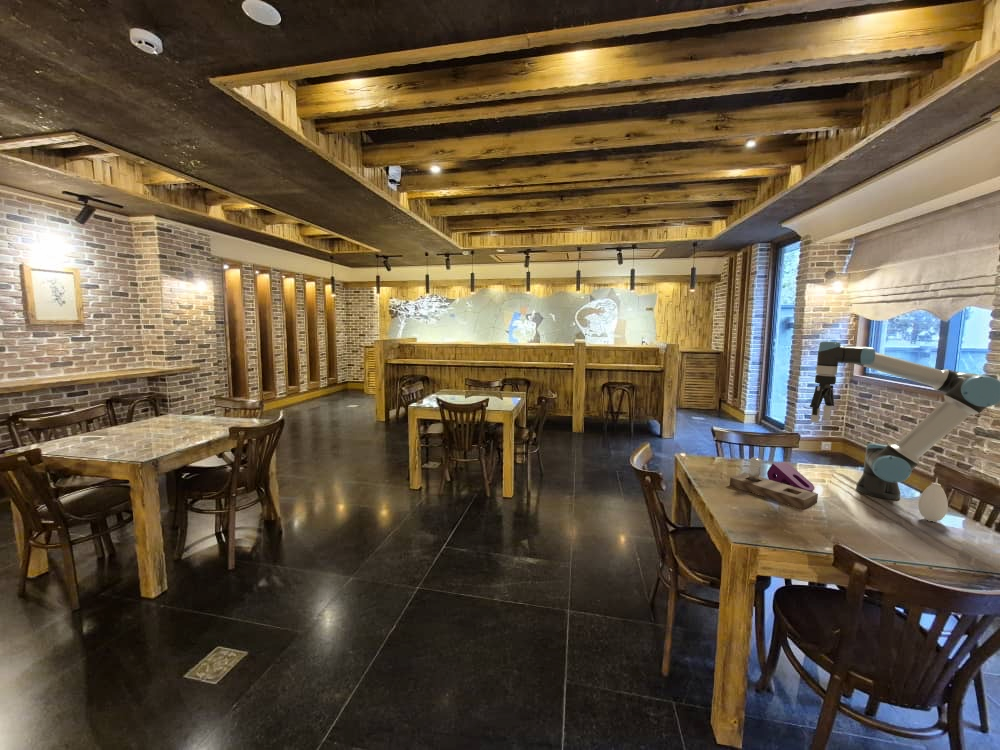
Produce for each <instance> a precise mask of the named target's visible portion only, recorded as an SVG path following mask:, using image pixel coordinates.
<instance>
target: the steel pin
mask: <svg viewBox="0 0 1000 750" xmlns="http://www.w3.org/2000/svg"><path fill="white" fill-rule="evenodd" d="M761 462H762V459H761V458H759V457H751V458H750V463H749V472H748V474H749V480H750V481H753V482H759V477H760V472H761V464H762V463H761Z"/></svg>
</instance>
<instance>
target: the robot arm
mask: <svg viewBox="0 0 1000 750" xmlns="http://www.w3.org/2000/svg"><path fill="white" fill-rule="evenodd" d="M818 345H819V346H818V351H817V361H816V366H815V368H814V369H815V374H816V375H815V376H814V377H815V378H814V383H815V384H818V385H815V387H814V392H813V395H812V398H811V399H812V400H811V402H810V405H809V408H811V416H810V422H811V423H819V421H820V411H821V408H820V406H821V404H822V402H823V400H824V405H823V411H822V412H823V413H822V420H827V421H830V420H831V414H832V409H833V408H832V407H835V400H834V399H835V397H834V395H835V394H834V385H836V383H837V375H838V366H839V363H840V364H852V365H853V364H854V365H856V366H861V367H865V368H868V369H870V370H871V369H872V370H875V371H878V372H882V373H885V374H888V375H891V376H895V377H898V378H900V379H901V378H902V379H904V380H905V379H906V380H908V381H913V382H915V383H919V384H922V385H926V386H929V387H932V388H933V390H934V391H938V392H941V393H943V394H944V395H943V397H944V401H943V402H942V403H941V404H940V405H938V406H937V407H935V409H934V410H933V411H931V413H930V414H928V415H927V416H926V417H925V418H923V420H921V421H920V422H919V423H918V424H917V425H915V426H914V428H912V429H911V430H910V431H908V433H907V434H905V435H904V436H903V437H902V438H901V439H900V440H899V441H897V443H888V444H880V443H873V442H871V443H868V444H867V445H866V448H865V456H864V463H863V464H864V465H863V471H862V475H861V477H860V478H859V479H858V481H857V483H856V488H855V490H857V491H858V492H860V493H862V494H865V495H868V496H871V497H874V498H879V499H883V500H884V499H886V500H900V499H901V490H900V486H899V484H898V483H902V482H905V481H907V480H908V479H909V478H910V476H911V474H912V470H914V468H916V467H917V466H918V465H920V460H919V459H920V458H921V457H922V456H923V455H924V454H926V453H927V452H928V451H929V450H930V449H932V448H933V447H934V446H935V445H936V444H937V443H939V442H940V441H941V440H942V439H943V438H945V436H947V435H948V434H949V433H951V431H952V430H954V429H956V427H957V426H959V425H960V424H961V423H963V421H964V420H966V419H967V418H968V417H969V416H971V415H979V414H981V412H983V411H984V410H985V409H986V408H988V407H992V406H994V405H997V404H999V403H1000V380H999V379H997V378H995V377H993V376H990V375H987V374H986V375H985V374H977V373H968V372H962V371H955V370H952V369H951V370H950V369H948V368H946V369H942V370H941V369H938V368H935V367H931V366H928V365H923V364H920V363H915V362H912V361H910V360H905V359H901V358H897V357H894V356H890V355H886V354H884V353H879V352H877V351H876V349H875V348H874V347H869V346H854V345H853V346H845V345H844V346H843V345H841V342H840V341H824V340H823V341H821V342H819V344H818Z"/></svg>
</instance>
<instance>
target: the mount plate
mask: <svg viewBox="0 0 1000 750" xmlns="http://www.w3.org/2000/svg"><path fill="white" fill-rule="evenodd" d="M729 486H730V487H732V486H733V488H736V489H739V490H742V491H745V492H748V491H749V493H751V492H752V494H754V493H756V494H755V495H757V494H759V495H758V496H760V495H761V497H763V496H764V497H763V498H766V497H767V498H766V499H769V498H770V500H773V501H776V502H778V503H779V502H780V503H782V504H786V505H788V504H789V505H788V506H791V505H792V506H791V507H794V506H795V507H794V508H797V507H798V509H800V508H801V510H805V509H807V508H809V507H812V506H814V505H815V504H817V503H818V497H819V493H816V492H814V491H812V492H810V491H807V490H803V489H800V488H797V487H793V486H792V485H791V484H790V485H789V484H787V483H779V482H776V481H772V480H769V479H768V478H764V477H761V476H759V482H753V481H750V480H749V472H743V473H739V474H737V475H733V476H730V478H729Z"/></svg>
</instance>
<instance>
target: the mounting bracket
mask: <svg viewBox="0 0 1000 750" xmlns="http://www.w3.org/2000/svg"><path fill="white" fill-rule="evenodd" d="M766 476H767V479H769V480H772V481H776V482H779V483H783V484H785V483H786V482H788V483H787V484H790V486H793V487H797V488H800V489H803V490H807V491H810V492H814V491H815V488H816V487H815V486H814V484H813V483H812V481H810V480H809V479H807V478H806V476H804V475H803V474H802V473H801V472H800V471H798V470H797V469H796V468H795V467H794V466H792V465H791V464H790V463H789V462H787V461H783V462H781V461H780V462H772V464H771V465H770V467H769V468H768V469H767V472H766Z"/></svg>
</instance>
